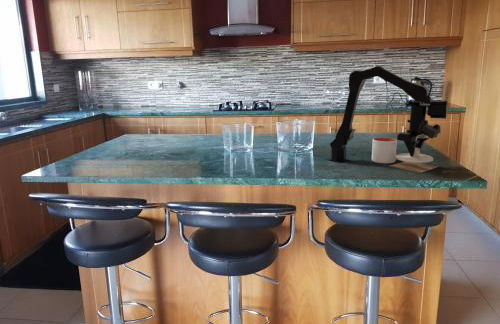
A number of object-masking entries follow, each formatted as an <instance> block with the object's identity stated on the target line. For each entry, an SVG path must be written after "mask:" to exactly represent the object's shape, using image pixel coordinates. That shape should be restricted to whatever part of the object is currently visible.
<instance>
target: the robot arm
mask: <svg viewBox="0 0 500 324" xmlns="http://www.w3.org/2000/svg"><path fill="white" fill-rule="evenodd" d="M376 77H378V78H380V79H382V80H384V81H385V82H388V83H389V84H391V85H392V86H395V87H397V88H398V89H400V90H402V91H403V92H404V93H405V94H406V95H408V96H409V97H410V98H411V99H409V101H408V102H407V103H406V104H405V106H406V107H410V111H409V112H410V114H409V119H408V120H407V123H409V125H408V126H409V127H408V129H406V131H404V132H399V133H398V134H397V135H396V140H397V141H402V142H403V143H404V145H405V147H406V149H407V151H408V152H407V153H409V154H410V156H411V157H413V156H414V152H415V148H420V151H421V150H422V147H423V146H424V144H425V143H426V141H428V140H430V139H434V138H437V137H438V135H439V134H441V125H440V124H437V123H436V124H434V125H430V124H429V121H428V120H427V119H426V116H428V117H429V118H430V119H443V120H444V119H445V120H446V119H447V118H448V116H447V115H448V101H447V100H433V99H432V97H431V96H430V95H429V90H428V87H426V86H425V85H423V84H420V83H417V82H413V81H409V80H407V79H405V78H403V77H401V76H399V75H397V74H395V72H392V71H391V70H388V69H386V68H385V67H383V66H382V65H376V66H374V67H371V68H368V69H364V70H353V71H352V72H350V74H349V76H348V96H347V101H346V104H345V108H344V109H345V110H344V113H343V118H342V121H341V122H342V123H341V124H340V126H339V128H338V130H337V132H336V135H335V137H334V139H333V140H332V141H331V142H330V143H329V146H330V148H331V153H330V154H331V157H330V158H328V160H329V161H331V162H337V163H343V162H346V161H349V158H347V146H348V143H349V142H351V141H352V139H354V134H355V131H356V129H355V128H353V121H354V118H355V114H356V110H357V109H356V108H357V105H358V101H359V97H360V93H361V91H362V89H363V87H364V85H365V84H366V81H367V80H370V79H372V78H376ZM413 100H414V101H413Z"/></svg>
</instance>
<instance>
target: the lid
mask: <svg viewBox="0 0 500 324" xmlns="http://www.w3.org/2000/svg"><path fill="white" fill-rule="evenodd" d="M396 160H398V161H401V162H404V161H405V162H413V163H422V164H427V163H431V162H433V161H434V157H433V156H431V155H428V154H425V153H421V150H420V148H415V152H414V156H413V157H411V156H410V154H409V152H405V153H403V152H402V153H397V154H396Z"/></svg>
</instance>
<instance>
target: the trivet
mask: <svg viewBox="0 0 500 324" xmlns="http://www.w3.org/2000/svg"><path fill="white" fill-rule="evenodd" d="M389 167H390V168H395V169H401V170H405V171H410V172H415V173H418V174H421V173H424V172H428V171H431V170H433V169H436V168H439V165H438V166H437V165H432V164H427V163H413V162H405V161H401V162H399V163H398V162H397V163H394V164H391V165H389Z"/></svg>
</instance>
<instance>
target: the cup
mask: <svg viewBox="0 0 500 324" xmlns="http://www.w3.org/2000/svg"><path fill="white" fill-rule="evenodd" d="M397 144H398V140H397V138H392V137H375V138H372V144H371V145H372V147H371V161H372V162H374V163H378V164H392V163H395V162H396V161H397V158H396V155H397V146H398V145H397Z"/></svg>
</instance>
